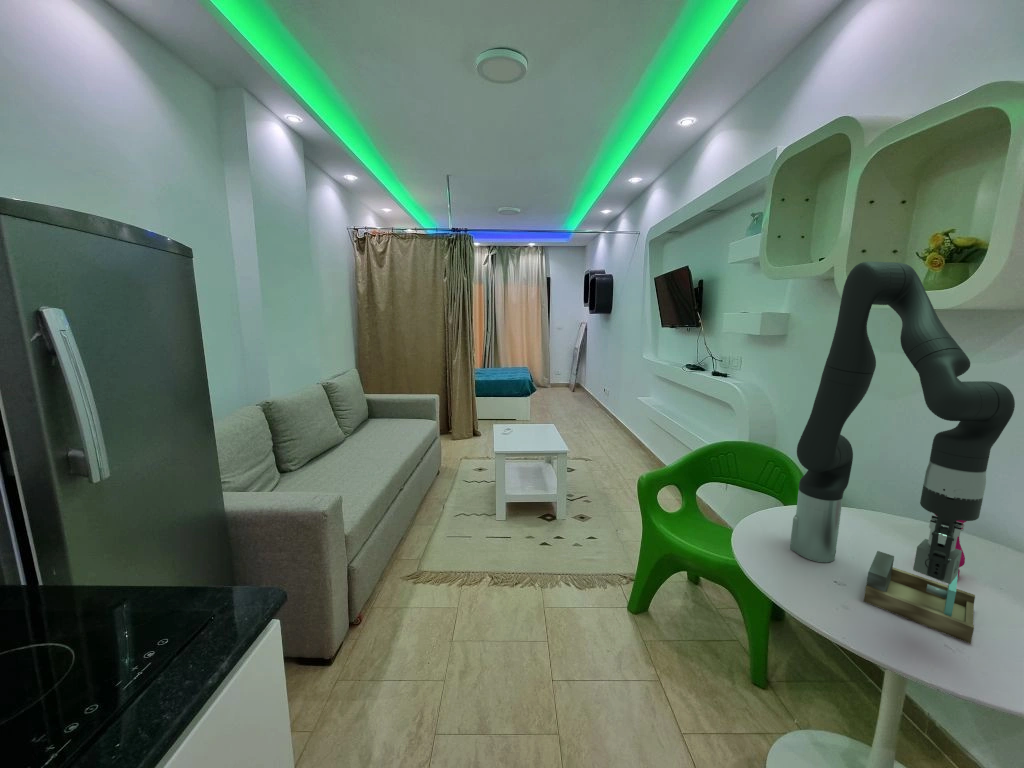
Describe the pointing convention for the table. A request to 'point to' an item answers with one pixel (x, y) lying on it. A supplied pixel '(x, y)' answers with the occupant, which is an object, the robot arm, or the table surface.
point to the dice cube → (923, 559)
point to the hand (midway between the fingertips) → (936, 570)
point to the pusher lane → (918, 599)
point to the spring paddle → (946, 595)
